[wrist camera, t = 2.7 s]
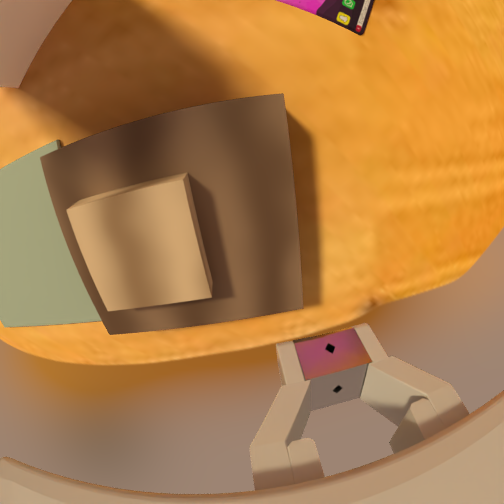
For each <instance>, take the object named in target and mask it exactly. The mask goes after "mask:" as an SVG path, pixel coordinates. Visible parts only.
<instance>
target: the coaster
mask: <svg viewBox="0 0 504 504" xmlns="http://www.w3.org/2000/svg"><path fill="white" fill-rule="evenodd" d="M66 211H67V214H68V217H69V220H70V223H71V225H72V228H73V231H74V234H75V237H76V239H77V242H78V245H79V247H80V250H81V252H82V255H83V257H84V260H85V262H86V265H87V267H88V269H89V272H90V274H91V276H92V279H93V281H94V283H95V285H96V287H97V290H98V292H99V294H100V296H101V298H102V300H103V302H104V304H105V306H106V308H107V310H108V311H116V310H124V309H132V308H140V307H148V306H156V305H163V304H171V303H178V302H185V301H192V300H199V299H205V298H212V284H213V281H212V277H211V273H210V269H209V265H208V261H207V257H206V253H205V248H204V244H203V240H202V236H201V232H200V227H199V223H198V219H197V214H196V210H195V205H194V201H193V196H192V192H191V187H190V182H189V178H188V173H183V174H178V175H173V176H169V177H164V178H160V179H156V180H152V181H147V182H143V183H139V184H135V185H131V186H128V187H124V188H120V189H116V190H113V191H109V192H106V193H102V194H99V195H95V196H92V197H88V198H85V199H82V200H79V201H78V202H76V203H75V204H74V205H72V206H71V207H69V208H68V209H67V210H66Z"/></svg>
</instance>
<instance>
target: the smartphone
mask: <svg viewBox="0 0 504 504" xmlns="http://www.w3.org/2000/svg"><path fill="white" fill-rule="evenodd" d="M277 1H280V2H283V3H286V4H289V5H292V6H294V7H297V8H300V9H302V10H305V11H308V12H310V13H313V14H315V15H318V16H320V17H322V18H325V19H327V20H329V21H331V22H334V23H336V24H338V25H340V26H342V27H344V28H346V29H348V30H350V31H352V32H354V33H356V34H358V35H361V34H363V33H364V30H365V27H366V24H367V20H368V17H369V14H370V11H371V8H372V5H373V1H374V0H277Z"/></svg>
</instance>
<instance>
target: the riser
mask: <svg viewBox="0 0 504 504" xmlns="http://www.w3.org/2000/svg"><path fill="white" fill-rule="evenodd" d="M40 160H41V164H42V168H43V172H44V176H45V180H46V184H47V187H48V191H49V194H50V197H51V201H52V204H53V207H54V210H55V213H56V216H57V219H58V222H59V225H60V228H61V230H62V233H63V236H64V238H65V241H66V244H67V246H68V249H69V251H70V254H71V256H72V259H73V261H74V263H75V266H76V268H77V270H78V273H79V275H80V277H81V279H82V282H83V284H84V286H85V288H86V290H87V292H88V294H89V296H90V298H91V300H92V302H93V304H94V306H95V308H96V310H97V312H98V314H99V316H100V318H101V320H102V322H103V324H104V325H105V327H106V329H107V331H108V333H109V334H110V335H114V334H126V333H137V332H148V331H157V330H167V329H175V328H184V327H192V326H199V325H207V324H214V323H221V322H227V321H234V320H240V319H247V318H253V317H259V316H265V315H270V314H276V313H281V312H287V311H292V310H297V309H303V291H302V273H301V257H300V243H299V230H298V218H297V206H296V195H295V185H294V175H293V166H292V157H291V148H290V140H289V131H288V124H287V116H286V108H285V101H284V94H273V95H263V96H255V97H247V98H240V99H233V100H226V101H220V102H215V103H209V104H204V105H199V106H194V107H189V108H185V109H180V110H176V111H172V112H167V113H163V114H159V115H156V116H152V117H148V118H145V119H141V120H138V121H134V122H131V123H128V124H124V125H121V126H118V127H115V128H112V129H109V130H106V131H103V132H100V133H98V134H95V135H92V136H89V137H87V138H84V139H81V140H79V141H76V142H74V143H71V144H69V145H67V146H64V147H62V148H59V149H57V150H55V151H53V152H50V153H48V154H46V155H44V156H42V157H40ZM183 173H188V178H189V182H190V187H191V192H192V196H193V201H194V205H195V210H196V214H197V219H198V223H199V227H200V232H201V236H202V240H203V244H204V248H205V253H206V257H207V261H208V265H209V269H210V273H211V277H212V281H213V284H212V298H205V299H199V300H192V301H185V302H178V303H171V304H163V305H156V306H148V307H140V308H132V309H124V310H116V311H108V310H107V308H106V306H105V304H104V302H103V300H102V298H101V296H100V294H99V292H98V290H97V287H96V285H95V283H94V281H93V279H92V276H91V274H90V272H89V269H88V267H87V265H86V262H85V260H84V257H83V255H82V252H81V250H80V247H79V245H78V242H77V239H76V237H75V234H74V231H73V228H72V225H71V223H70V220H69V217H68V214H67V211H66V210H67V209H68V208H69V207H71V206H72V205H74V204H75V203H76V202H78V201H79V200H82V199H85V198H88V197H92V196H95V195H99V194H102V193H106V192H109V191H113V190H116V189H120V188H124V187H128V186H131V185H135V184H139V183H143V182H147V181H152V180H156V179H160V178H164V177H169V176H173V175H178V174H183Z"/></svg>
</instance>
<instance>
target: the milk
mask: <svg viewBox="0 0 504 504" xmlns="http://www.w3.org/2000/svg"><path fill="white" fill-rule="evenodd" d="M71 1H72V0H0V87H12V88H19V86H20V84H21V82H22V80H23V78H24V76H25V74H26V72H27V70H28V68H29V66H30V64H31V62H32V61H33V59H34V57H35V55H36V53H37V52H38V50H39V48H40V47H41V45H42V43H43V42H44V40H45V38H46V37H47V35H48V34H49V32H50V31H51V29H52V28H53V26H54V25H55V23H56V22H57V20H58V19H59V17H60V16H61V15H62V13H63V12H64V11H65V9H66V8H67V7H68V5H69V4H70V3H71Z"/></svg>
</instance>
